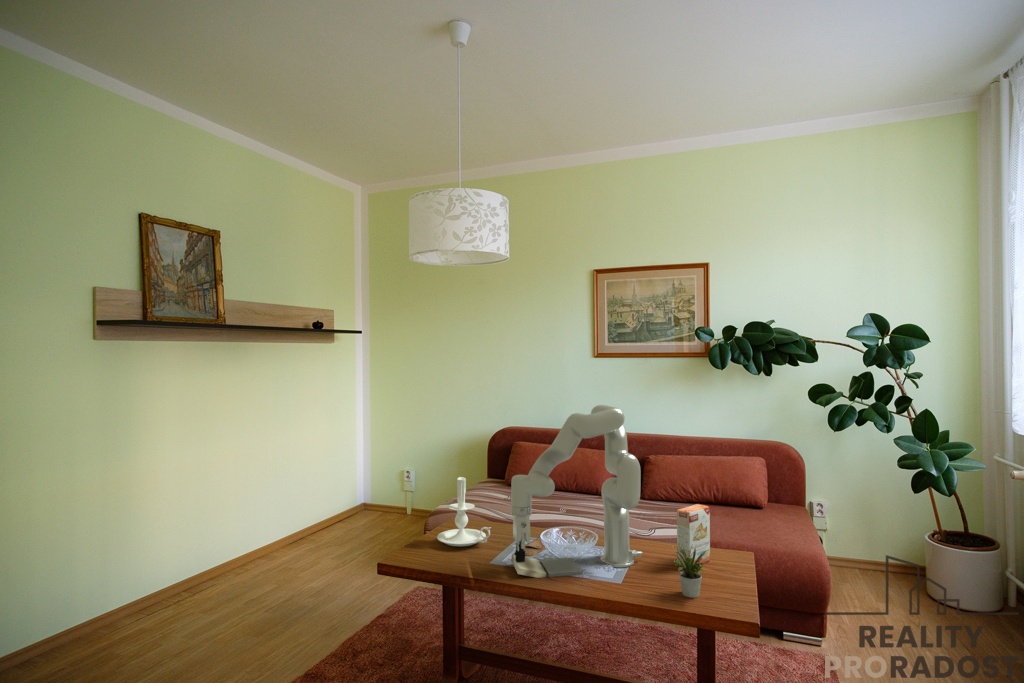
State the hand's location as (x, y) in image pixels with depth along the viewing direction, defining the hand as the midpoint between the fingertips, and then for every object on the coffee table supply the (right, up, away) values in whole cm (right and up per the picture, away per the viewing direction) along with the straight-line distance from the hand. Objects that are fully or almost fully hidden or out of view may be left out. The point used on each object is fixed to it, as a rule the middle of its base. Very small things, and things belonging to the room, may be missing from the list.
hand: (520, 561), depth 201 cm
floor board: (+15, -5, +2) cm, 16 cm away
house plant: (+54, -4, -18) cm, 57 cm away
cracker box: (+66, -5, +9) cm, 67 cm away
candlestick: (-23, -6, +34) cm, 41 cm away
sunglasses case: (+6, -6, +23) cm, 24 cm away
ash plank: (+3, -3, 0) cm, 4 cm away
